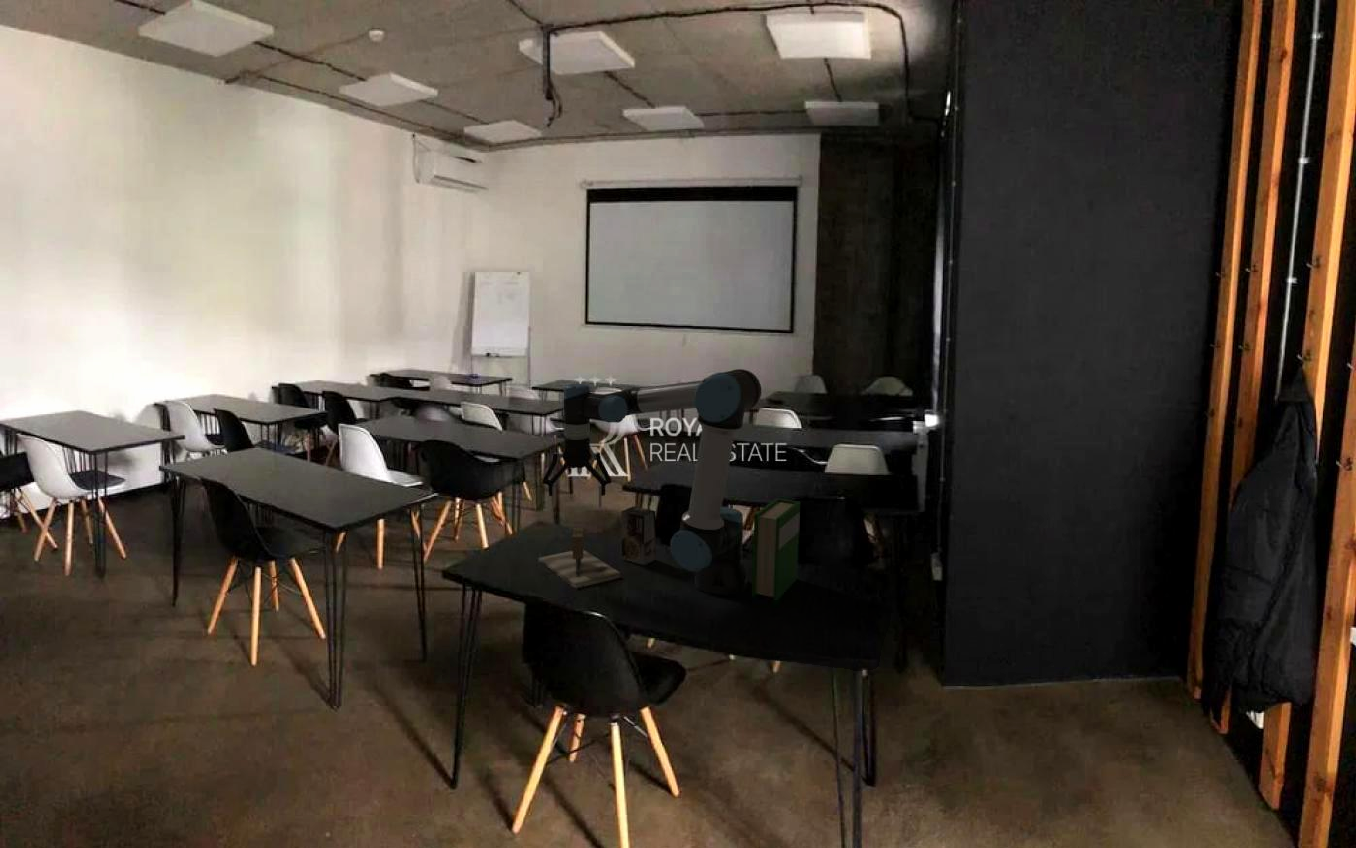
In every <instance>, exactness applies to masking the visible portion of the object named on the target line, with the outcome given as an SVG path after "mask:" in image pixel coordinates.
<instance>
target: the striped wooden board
mask: <svg viewBox="0 0 1356 848" xmlns="http://www.w3.org/2000/svg"><path fill="white" fill-rule="evenodd" d="M539 561H540V562H542V563H543V564H545V565H546V566H547V567H548V568H550V569H551V570H552V571H553V572H555V573H556V574H557V575H558V576H560V577H561V578H562V579H563V580H562V579H561V578H560V579H561V580H562V581H564V580H565V581H566V582H567V584H568V585H569V584H570V585H569V586H571V587H572V586H573V587H575V588H576V589H579V588H578V587H580V588H583V587H582V586H584V587H588V586H591V585H596V584H600V583H604V582H608V581H611V580H616V579H619V578H621V572H620V571H618V570H616V569H615V568H614V567H613V566H612V567H611V565H609V564H607V563H605V562H603V561H602V560H601V559H599V558H597V557H596V556H595V555H593V554H591V553H590V552H588V551H586V550H584V551H583V559H581V565H580V570H579V574H576V559H573V550H569V551H565V552H560V553H556V554H552V555H546V556H542V557H541V556H540V557H538V562H539ZM557 575H556V576H557ZM558 576H557V577H558ZM565 581H564V582H565ZM566 582H565V583H566ZM573 587H572V588H573ZM575 588H574V589H575Z"/></svg>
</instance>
